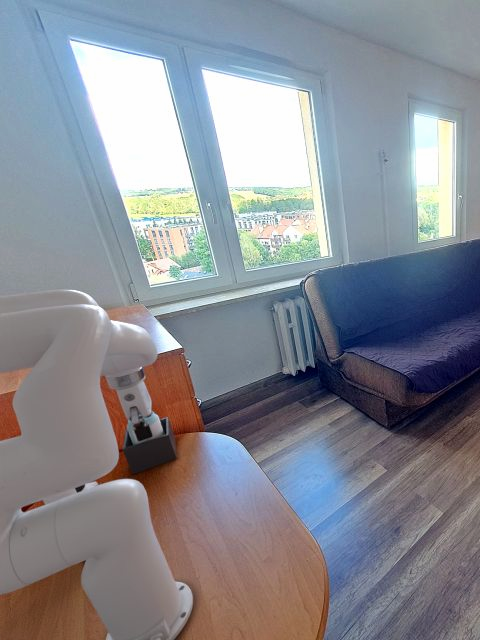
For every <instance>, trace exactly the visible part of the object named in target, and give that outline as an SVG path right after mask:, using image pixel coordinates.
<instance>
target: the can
mask: <svg viewBox="0 0 480 640" xmlns="http://www.w3.org/2000/svg"><path fill="white" fill-rule="evenodd" d="M140 416H142V414H139V417H140ZM145 418H146V422H147V425H148V424H149V426H150V429H151V432H152V435H153V436H152V437H151V438H148V439H145V440H142V441H138V440H137V437H136V435H135V432H134V428H133V424H132V420H131V421H128V420H127V424H126V430H128V432H129V435H130V437H131V440H132V442H133V445H136V444H139V443H142V442H145V441H148V440H151V439H154V438H157V437H160V436H163V435H165V434H164V431H163V428H162V425H161V422H160V420H159V419H160V417H159V415H158V414H156V413H155V412H154V411H153V410H151V414H150V415H149V416H145ZM139 420H140V422H141V421H142V422H143V419H142V418H141V419H139Z"/></svg>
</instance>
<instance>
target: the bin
mask: <svg viewBox="0 0 480 640" xmlns="http://www.w3.org/2000/svg"><path fill="white" fill-rule="evenodd" d="M159 420H160V422H161V425H162V428H163V431H164V434H165V435H163V436H160V437H157V438H154V439H151V440H148V441H145V442H142V443H139V444H136V445H133V442H132V440H131V437H130V435H129V432H128V430H127V429H125V430H124V436H123V437H124V438H123V445H122V452H123V454H124V457H125V459H126V462H127V464H128V466H129V469H130V471H131V474H132V475H136V474H139V473H142V472H144V471H147V470H150V469H152V468H155V467H158V466H160V465H161V466H162V465H164V464H166V463H169V462H172V461H175V460H177V458H178V457H177V456H178V455H177V440H176V439H177V438H176V436H175V433H174V431H173V430H174V429H173V427H172V425H171V421H170V419H169V416H166V417H163V418H159Z"/></svg>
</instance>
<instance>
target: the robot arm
mask: <svg viewBox="0 0 480 640" xmlns="http://www.w3.org/2000/svg"><path fill="white" fill-rule="evenodd" d="M158 356H159V355H158V348H157V345H156V343H155V340H153V338H152V336H151V335H150V332H148V331H147V330H146V328H143V327H142V326H139V325H137V324H133V323H127V322H122V321H118V320H111V319H110V316H109V314H108V312H107V311H106V309H105V310H104V309H103V308H102V307H101V306H100V304H98V303H97V301H96V300H95V299H94V298H93V297H92V296H90V295H89V294H87V293H85V292H82V291H79V290H75V289H51V290H43V291H42V290H41V291H35V292H25V293H16V294H9V295H7V294H6V295H0V375H1V374H6V373H7V374H8V373H11V372H16V371H22V370H27V369H30V371H28V373H27V374H26V375H25V377H24V378H23V380H22V381H21V383H20V384H19V386H18V387H17V389H16V391H15V393H14V395H13V398H12V408H13V411H14V413H15V416H16V420H17V422H18V426H19V429H20V433H21V435H18V436H14V437H11V438H5V439H3V440H0V596H1V595H5V594H9V593H12V592H15V591H18V590H20V589H23V588H25V587H27V586H29V585H32V584H35V583H36V582H38V581H41V580H44V579H45V578H47V577H50V576H52V575H54V574H56V573H58V572H61V571H64V570H65V569H68V568H70V567H73V566H76V565H78V564H80V563H82V562H84V561H85V563H84V565H83V568H82V571H81V575H80V584H81V587H82V590H83V592H84V593H85V595H86V596H87V599H88V600H89V601H90V603H91V605H92V607H93V608H94V610H95V612H96V614H97V615H98V617H99V619H100V620H101V622H102V625H104V627H105V630H106V631H107V634H106V637H105V640H175V639H176V638H177V636H178V635H180V633H181V632H182V630H183V629H184V627H185V625H186V624H187V622H188V621H189V618H190V616H191V614H192V611H193V606H194V595H193V592H192V589H190V587H189V585H187V584H186V583H185V582H181V581H176V580H175V578H174V576H173V573H172V571H171V569H170V566H169V564H168V562H167V559H166V556H165V553H164V552H163V550H162V547H161V545H160V542H159V540H158V538H157V535H156V532H155V530H154V526H153V523H152V518H151V512H150V505H149V504H150V503H149V497H148V494H147V490H146V489H145V487H144V485H143V483H141V482H140V481H139V480H137V479H134V478H120V479H115V480H111V481H107V482H104V483H100V484H98V485H97V486H95V487H92V488H89V489H86V490H84V491H81V492H78V493H75V494H73V495H70V496H67V497H64V498H62V499H60V500H57V501H55V502H52V503H49V504H46V505H45V504H43V505H41V506H37V507H35V508H32V509H30V510H27V511H22V510H23V509H22V508H23V507H27V506H30V505H32V504H35V503H37V502H40V501H43V499H46V498H49V497H52V496H54V495H57V494H60V493H63V492H65V491H68V490H71V489H74V488H76V487H79V486H82V485H84V484H88V483H92V482H95V481H96V480H98V479H101V478H102V477H105V476H106V475H108V474H109V473H110V472H112V471H113V470H114V469H115V468H116V466H117V465H118V462H119V459H120V451H119V445H118V441H117V437H116V434H115V431H114V427H113V424H112V421H111V418H110V415H109V411H108V408H107V405H106V402H105V399H104V396H103V393H102V389H101V377H104V378H105V380H106V382H107V385H108V387H109V389H111V390H115V391H116V394H117V397H118V400H119V403H120V406H121V408H122V411H123V414H124V416H125V418H126V420H127V422H128V421H131V420H132V424H133V428H134V432H135V435H136V437H137V440H138V441H142V440H145V439H148V438H151V437H152V436H153V435H152V432H151V429H150V426H149V424H148V425H147V422H146V418H145V416H149V415H150V414H151V411H152V405H153V404H152V398H151V396H150V394H149V391H148V388H147V386H146V383H145V379H146V374H145V371H144V368H143V367H149V366H151V365H153V364H154V363H155V362H156V361H157V359H158ZM139 414H142V416H140V417H139ZM141 418H142V419H143V422H142V421H141V422H140V420H139V419H141Z"/></svg>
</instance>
